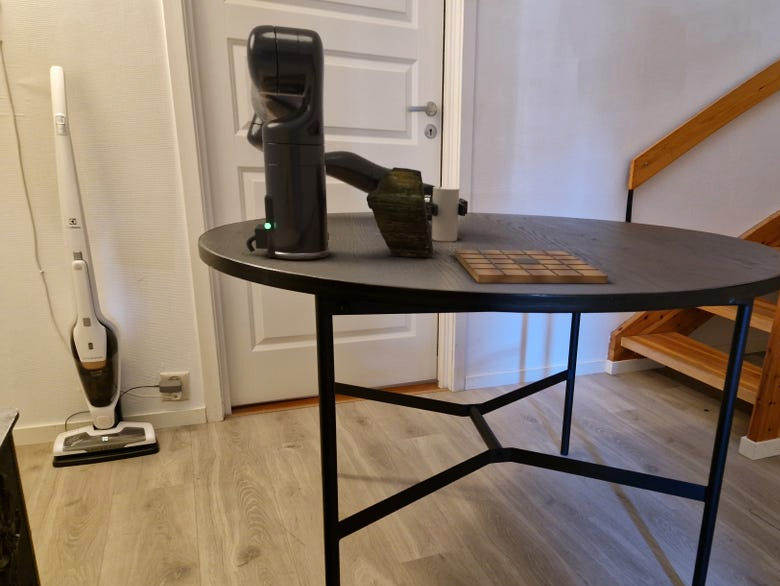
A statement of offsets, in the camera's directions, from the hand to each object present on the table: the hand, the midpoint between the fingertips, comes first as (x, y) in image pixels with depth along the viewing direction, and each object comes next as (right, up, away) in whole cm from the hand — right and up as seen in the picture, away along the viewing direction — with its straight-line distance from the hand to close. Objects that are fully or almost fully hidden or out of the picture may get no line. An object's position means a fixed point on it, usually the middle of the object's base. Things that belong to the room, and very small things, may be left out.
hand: (450, 210), depth 120 cm
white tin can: (-1, -5, +4) cm, 7 cm away
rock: (-8, -11, -13) cm, 19 cm away
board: (+13, -14, -19) cm, 28 cm away
